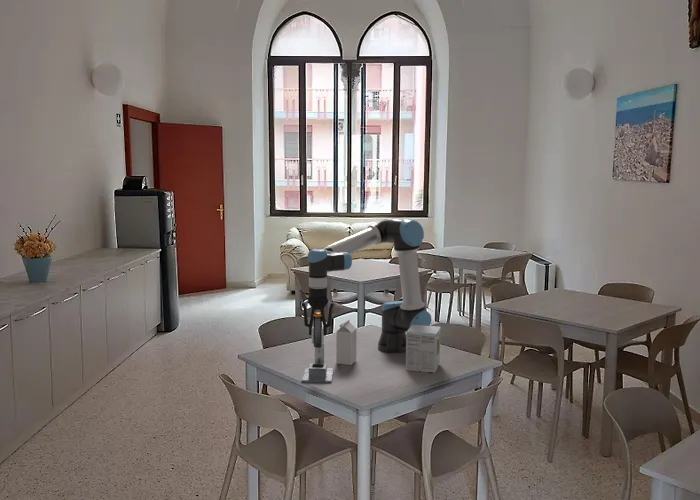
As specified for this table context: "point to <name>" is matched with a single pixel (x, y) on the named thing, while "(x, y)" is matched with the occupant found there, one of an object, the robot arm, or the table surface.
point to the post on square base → (318, 369)
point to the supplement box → (423, 348)
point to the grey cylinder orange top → (317, 329)
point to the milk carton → (346, 344)
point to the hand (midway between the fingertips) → (317, 342)
